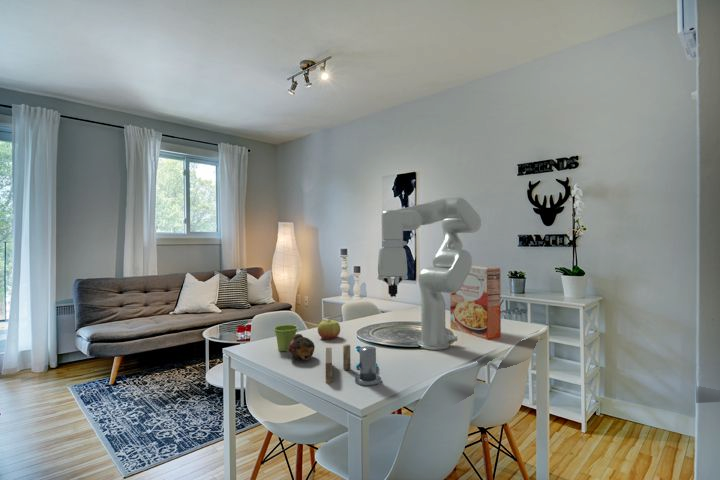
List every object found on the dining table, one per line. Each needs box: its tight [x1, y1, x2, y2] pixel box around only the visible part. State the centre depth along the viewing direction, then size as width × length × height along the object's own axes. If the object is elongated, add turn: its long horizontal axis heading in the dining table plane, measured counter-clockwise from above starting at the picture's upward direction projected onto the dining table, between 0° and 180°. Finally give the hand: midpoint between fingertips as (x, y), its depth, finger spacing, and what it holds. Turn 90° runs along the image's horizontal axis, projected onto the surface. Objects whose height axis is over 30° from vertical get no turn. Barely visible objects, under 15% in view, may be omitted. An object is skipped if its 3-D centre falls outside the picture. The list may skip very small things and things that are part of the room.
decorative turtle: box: [288, 333, 316, 362], centre depth 140 cm, size 10×15×8 cm, turn 27°
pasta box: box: [449, 265, 502, 341], centre depth 174 cm, size 23×8×30 cm, turn 28°
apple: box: [317, 319, 341, 340], centre depth 167 cm, size 10×10×8 cm
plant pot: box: [273, 324, 299, 352], centre depth 151 cm, size 9×9×9 cm
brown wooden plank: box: [325, 347, 333, 384], centre depth 125 cm, size 2×16×6 cm, turn 5°
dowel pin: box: [342, 343, 352, 371], centre depth 128 cm, size 2×2×8 cm
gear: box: [355, 345, 379, 370], centre depth 129 cm, size 11×6×10 cm
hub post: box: [354, 345, 382, 387], centre depth 118 cm, size 8×8×10 cm
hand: (392, 296), depth 136 cm, fingers closed
